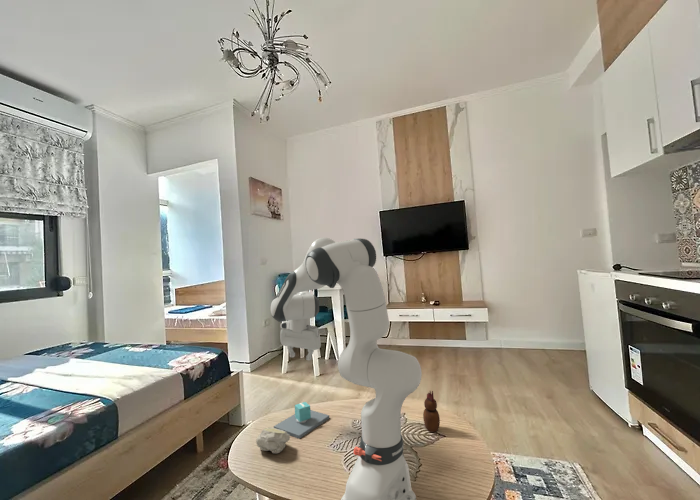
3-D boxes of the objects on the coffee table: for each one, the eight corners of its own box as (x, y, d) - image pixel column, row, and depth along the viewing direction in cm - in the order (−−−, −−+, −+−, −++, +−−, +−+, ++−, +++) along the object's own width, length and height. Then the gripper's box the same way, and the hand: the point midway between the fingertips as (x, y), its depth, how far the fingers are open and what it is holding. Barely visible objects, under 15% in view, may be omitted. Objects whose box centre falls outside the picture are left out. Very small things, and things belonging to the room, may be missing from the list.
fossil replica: (261, 442, 118) (252, 461, 108) (258, 421, 117) (249, 438, 107) (293, 439, 117) (287, 457, 107) (290, 417, 117) (284, 433, 107)
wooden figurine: (442, 434, 117) (439, 392, 118) (426, 434, 117) (423, 393, 118) (437, 424, 124) (435, 385, 124) (422, 425, 124) (420, 386, 124)
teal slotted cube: (305, 414, 134) (305, 401, 134) (310, 418, 130) (310, 405, 130) (295, 417, 131) (294, 404, 131) (299, 421, 127) (299, 408, 127)
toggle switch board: (299, 438, 119) (298, 423, 119) (273, 429, 127) (273, 414, 127) (329, 418, 133) (328, 404, 134) (304, 411, 141) (304, 398, 142)
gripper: (323, 324, 129) (324, 359, 128) (288, 321, 141) (289, 353, 140) (313, 327, 124) (314, 363, 123) (277, 324, 136) (278, 357, 135)
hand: (300, 358), depth 131 cm, fingers open, 8 cm apart
